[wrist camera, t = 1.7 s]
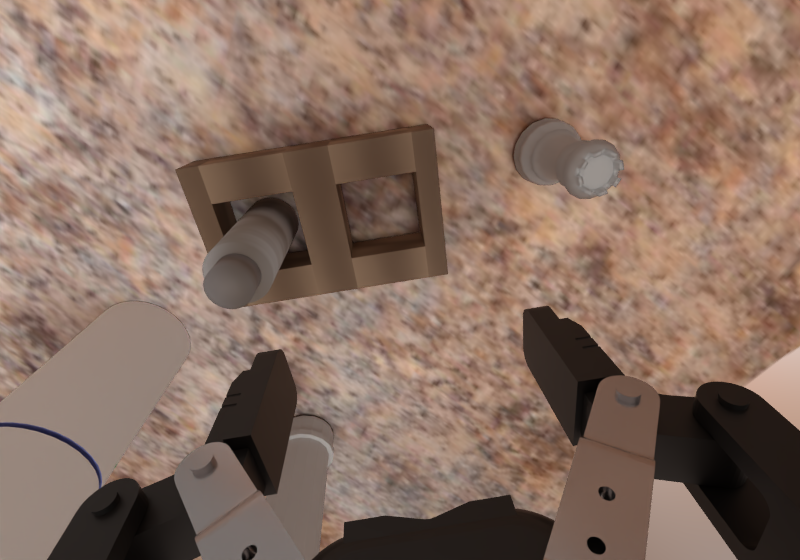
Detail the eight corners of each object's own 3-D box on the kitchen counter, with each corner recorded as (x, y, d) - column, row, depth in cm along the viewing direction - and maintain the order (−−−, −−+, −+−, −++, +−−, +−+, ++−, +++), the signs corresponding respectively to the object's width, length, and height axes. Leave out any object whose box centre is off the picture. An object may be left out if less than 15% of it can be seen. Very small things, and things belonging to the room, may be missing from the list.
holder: (241, 289, 32) (187, 378, 22) (194, 161, 27) (101, 203, 18) (441, 257, 32) (472, 332, 22) (427, 124, 27) (459, 146, 18)
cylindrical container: (195, 314, 32) (-193, 839, 10) (184, 381, 35) (-137, 908, 13) (98, 290, 31) (-623, 848, 8) (95, 362, 34) (-450, 924, 11)
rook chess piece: (498, 158, 29) (542, 183, 21) (542, 103, 27) (604, 110, 20) (542, 194, 30) (596, 229, 23) (585, 143, 29) (658, 163, 21)
